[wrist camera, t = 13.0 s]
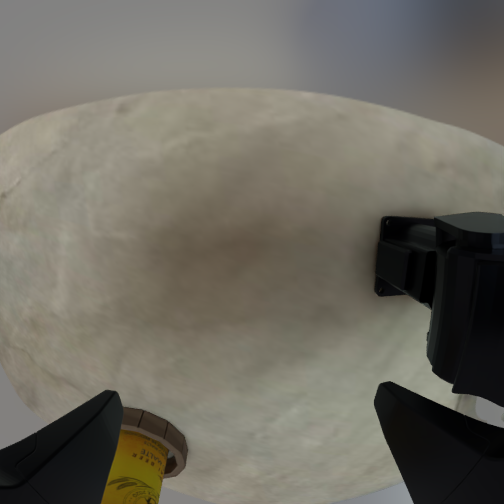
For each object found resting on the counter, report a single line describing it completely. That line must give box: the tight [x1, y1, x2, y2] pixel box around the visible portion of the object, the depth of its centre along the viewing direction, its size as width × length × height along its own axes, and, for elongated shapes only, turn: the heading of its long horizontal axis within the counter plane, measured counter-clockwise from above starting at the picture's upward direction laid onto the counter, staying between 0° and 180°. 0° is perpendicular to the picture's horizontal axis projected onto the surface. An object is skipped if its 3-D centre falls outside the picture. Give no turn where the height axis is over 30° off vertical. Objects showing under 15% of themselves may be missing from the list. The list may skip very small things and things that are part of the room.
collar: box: [121, 407, 188, 479], centre depth 23 cm, size 10×10×2 cm
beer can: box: [101, 429, 169, 504], centre depth 17 cm, size 6×6×15 cm
